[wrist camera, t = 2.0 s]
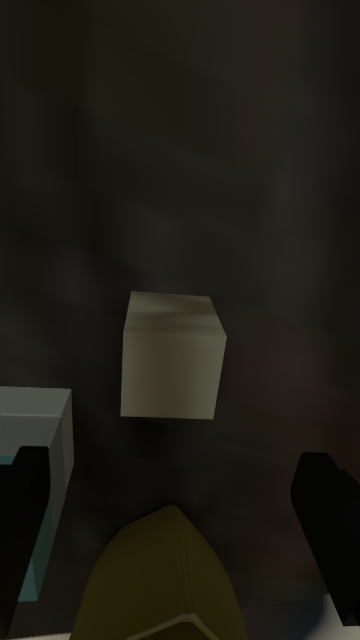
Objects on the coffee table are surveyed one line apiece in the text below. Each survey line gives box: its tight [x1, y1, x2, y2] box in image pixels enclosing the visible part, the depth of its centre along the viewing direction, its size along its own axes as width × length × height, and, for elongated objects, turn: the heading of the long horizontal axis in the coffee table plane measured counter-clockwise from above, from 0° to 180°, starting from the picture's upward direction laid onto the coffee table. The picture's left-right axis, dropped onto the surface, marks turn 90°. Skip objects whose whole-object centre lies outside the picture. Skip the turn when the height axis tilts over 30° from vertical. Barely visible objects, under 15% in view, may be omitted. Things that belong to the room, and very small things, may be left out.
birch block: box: [121, 292, 227, 419], centre depth 19 cm, size 5×5×6 cm
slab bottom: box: [0, 386, 74, 490], centre depth 22 cm, size 6×6×3 cm
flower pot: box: [69, 504, 248, 640], centre depth 24 cm, size 9×9×9 cm
